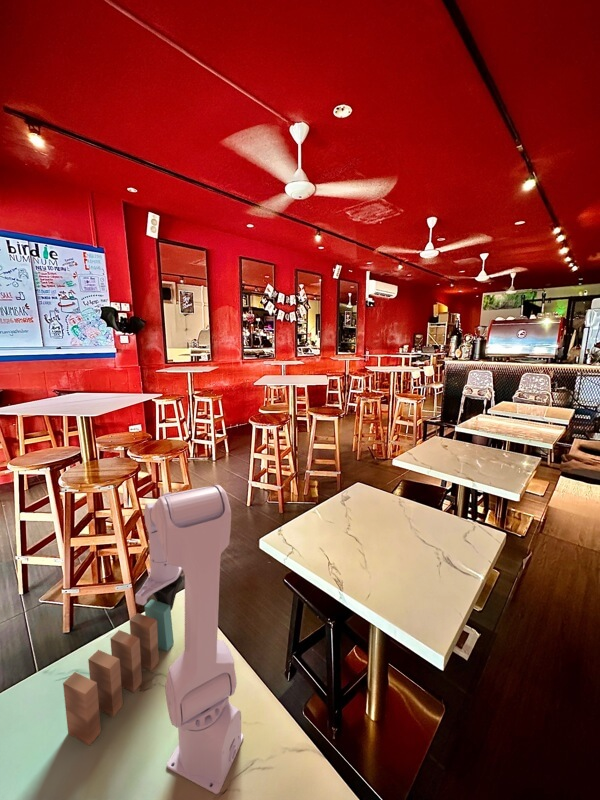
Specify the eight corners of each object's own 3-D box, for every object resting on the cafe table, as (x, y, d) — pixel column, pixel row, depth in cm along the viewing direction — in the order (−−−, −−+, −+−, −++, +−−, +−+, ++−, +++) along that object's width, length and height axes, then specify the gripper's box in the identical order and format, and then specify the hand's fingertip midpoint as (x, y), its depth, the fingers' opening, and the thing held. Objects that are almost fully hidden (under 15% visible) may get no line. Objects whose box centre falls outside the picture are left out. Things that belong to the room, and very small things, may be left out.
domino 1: (100, 732, 56) (96, 682, 54) (90, 745, 54) (85, 694, 53) (79, 720, 58) (74, 671, 56) (68, 733, 56) (63, 683, 54)
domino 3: (141, 682, 64) (139, 638, 63) (133, 692, 63) (130, 646, 61) (122, 673, 66) (119, 629, 64) (113, 683, 64) (110, 638, 63)
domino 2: (122, 705, 60) (119, 658, 59) (113, 717, 58) (109, 669, 57) (102, 695, 62) (98, 649, 60) (92, 706, 60) (88, 659, 58)
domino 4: (158, 662, 69) (156, 619, 67) (151, 670, 67) (149, 627, 65) (139, 654, 70) (137, 612, 69) (132, 662, 68) (129, 620, 67)
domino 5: (173, 643, 73) (170, 605, 71) (167, 651, 71) (163, 613, 69) (155, 636, 74) (151, 599, 72) (148, 644, 73) (144, 606, 70)
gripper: (172, 532, 79) (174, 583, 82) (122, 570, 66) (125, 630, 68) (197, 539, 77) (198, 591, 79) (150, 579, 63) (153, 641, 66)
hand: (166, 609), depth 73 cm, fingers closed
